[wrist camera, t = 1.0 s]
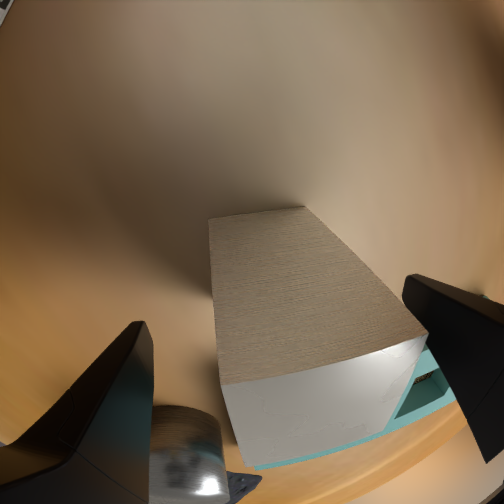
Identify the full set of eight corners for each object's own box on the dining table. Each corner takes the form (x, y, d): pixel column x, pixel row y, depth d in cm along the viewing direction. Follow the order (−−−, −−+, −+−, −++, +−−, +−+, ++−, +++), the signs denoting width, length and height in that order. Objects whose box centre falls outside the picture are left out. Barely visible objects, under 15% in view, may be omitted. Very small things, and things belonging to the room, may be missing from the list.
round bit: (211, 401, 16) (220, 484, 11) (226, 442, 19) (236, 506, 14) (120, 406, 16) (110, 482, 11) (151, 446, 19) (150, 508, 13)
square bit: (305, 206, 12) (428, 332, 5) (305, 287, 14) (383, 430, 6) (208, 218, 11) (220, 385, 4) (221, 301, 13) (245, 467, 6)
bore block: (485, 295, 17) (504, 312, 15) (444, 382, 22) (456, 399, 20) (233, 366, 15) (238, 401, 13) (250, 445, 20) (255, 470, 18)
